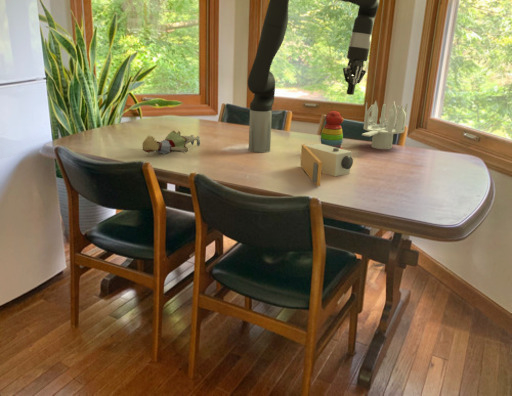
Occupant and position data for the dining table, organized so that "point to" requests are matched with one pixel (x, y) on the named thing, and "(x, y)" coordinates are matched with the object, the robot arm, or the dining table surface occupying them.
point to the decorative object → (384, 132)
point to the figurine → (169, 143)
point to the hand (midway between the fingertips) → (349, 94)
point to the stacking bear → (332, 130)
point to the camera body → (332, 159)
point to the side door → (311, 165)
